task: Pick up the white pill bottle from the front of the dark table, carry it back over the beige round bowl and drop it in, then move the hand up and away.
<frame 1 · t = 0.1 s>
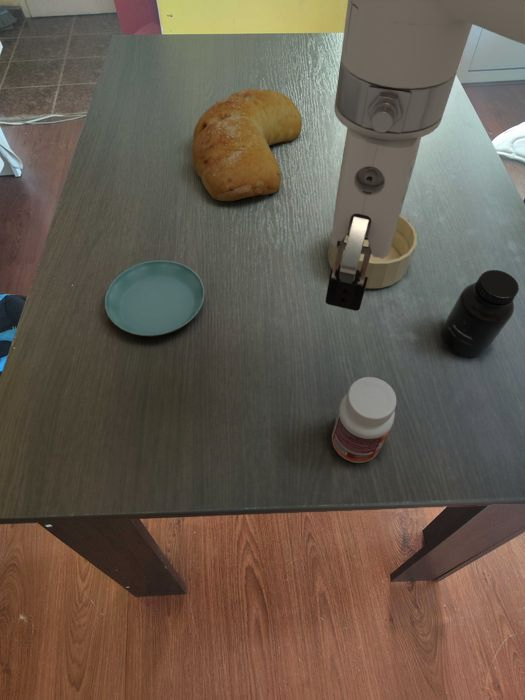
hand: (352, 269, 46), 22 cm above the table, tool pointing down, fingers open, 9 cm apart
saucer: (158, 307, 71), on the table
pill bottle: (355, 441, 59), on the table
beige round bowl: (367, 261, 77), on the table
bread: (242, 158, 94), on the table
supplement bottle: (463, 340, 68), on the table
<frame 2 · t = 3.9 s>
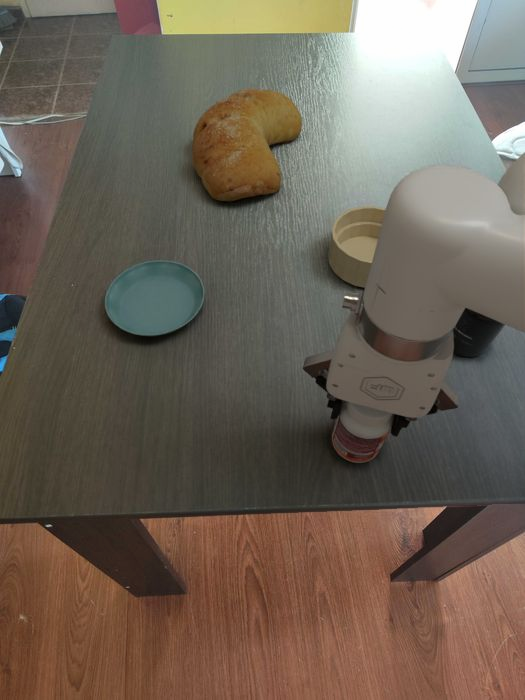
hand: (365, 415, 53), 7 cm above the table, tool pointing down, fingers closed on pill bottle, 6 cm apart
pill bottle: (355, 441, 59), on the table, touching gripper
everything else where it was.
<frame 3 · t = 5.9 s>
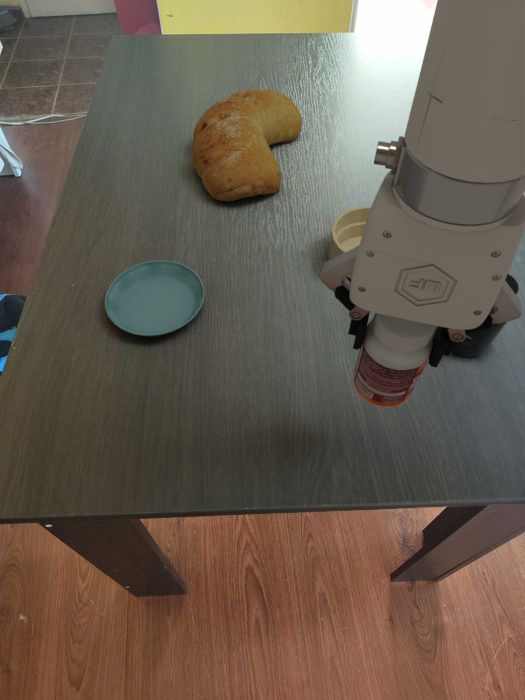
hand: (396, 344, 43), 20 cm above the table, tool pointing down, fingers closed on pill bottle, 6 cm apart
pill bottle: (381, 385, 49), point 13 cm above the table, touching gripper
everything else where it was.
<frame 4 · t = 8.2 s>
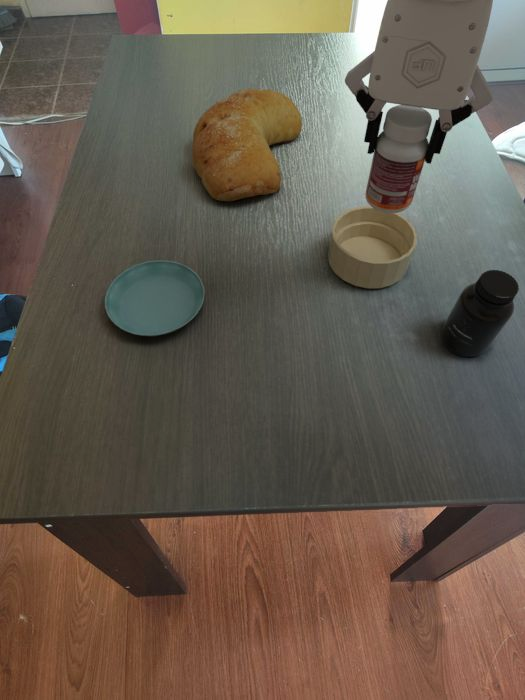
hand: (400, 151, 56), 22 cm above the table, tool pointing down, fingers closed on pill bottle, 6 cm apart
pill bottle: (387, 201, 62), point 15 cm above the table, touching gripper
everything else where it was.
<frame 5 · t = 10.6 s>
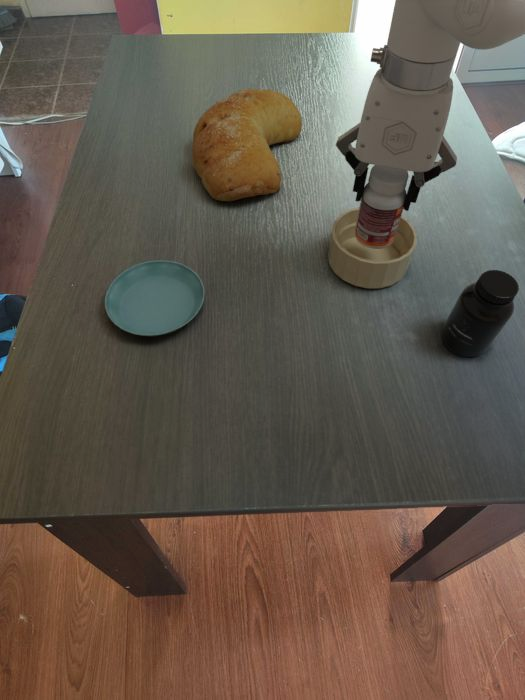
hand: (383, 199, 67), 12 cm above the table, tool pointing down, fingers closed on pill bottle, 6 cm apart
pill bottle: (373, 237, 72), point 5 cm above the table, touching gripper
everything else where it was.
when the fingers open (8 cm above the table, at t = 12.4 s): pill bottle stays where it is, resting on beige round bowl.
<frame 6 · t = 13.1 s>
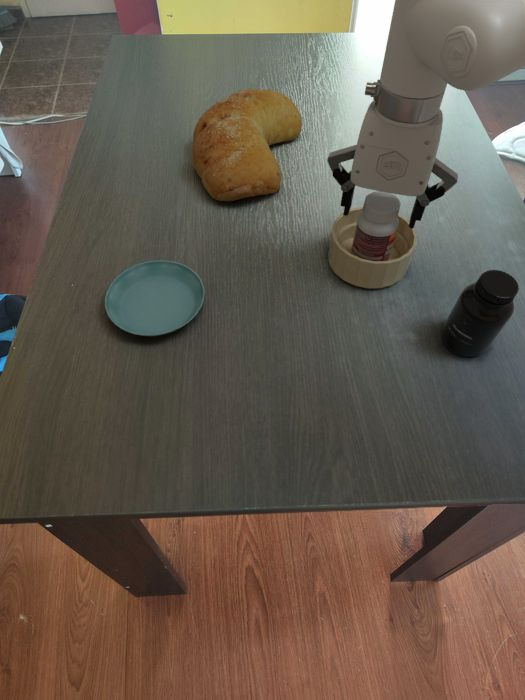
hand: (379, 216, 69), 9 cm above the table, tool pointing down, fingers open, 9 cm apart
pill bottle: (368, 260, 76), resting on beige round bowl
everything else where it was.
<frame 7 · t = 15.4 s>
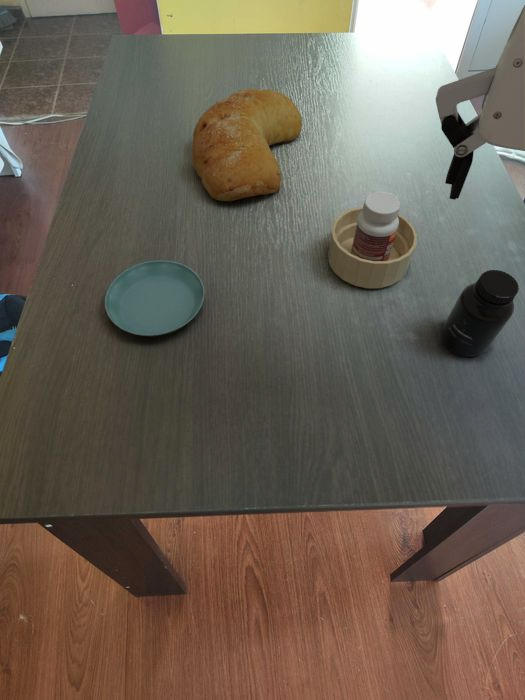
hand: (510, 200, 41), 28 cm above the table, tool pointing down, fingers open, 9 cm apart
nothing on the table moved.
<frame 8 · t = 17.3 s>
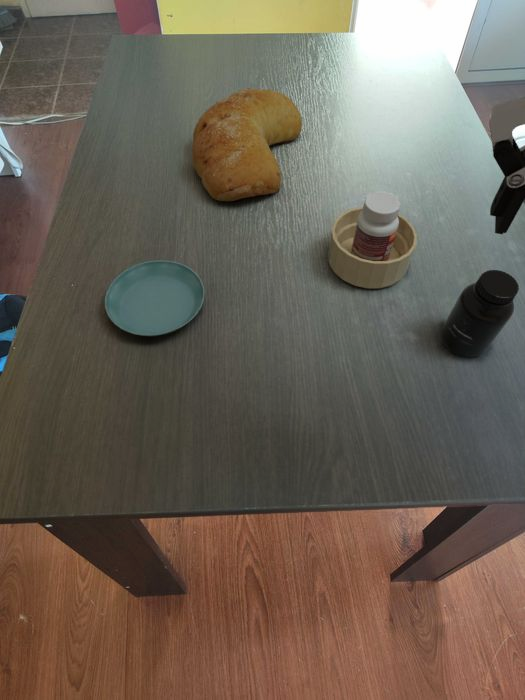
nothing on the table moved.
at the end: pill bottle 0.1 cm off-centre in the beige round bowl, point 0.4 cm above the beige round bowl's base; the gripper is holding nothing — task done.
